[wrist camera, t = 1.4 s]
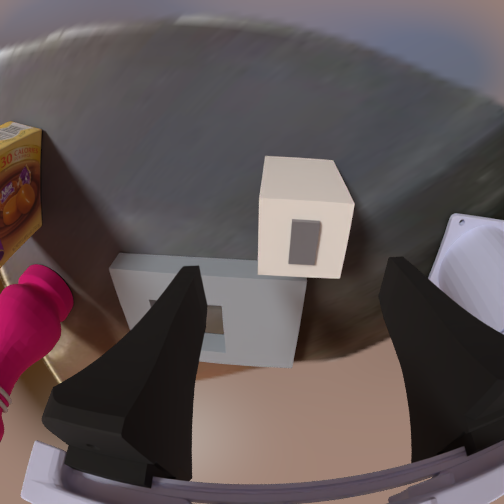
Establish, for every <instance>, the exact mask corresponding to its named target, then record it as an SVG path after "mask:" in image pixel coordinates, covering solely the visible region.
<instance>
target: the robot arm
mask: <svg viewBox="0 0 504 504" xmlns="http://www.w3.org/2000/svg"><path fill="white" fill-rule="evenodd" d="M460 220H462V222H461V223H459V222H460ZM379 300H380V305H381V309H382V313H383V317H384V320H385V323H386V326H387V329H388V331H389V334H390V337H391V340H392V342H393V345H394V348H395V350H396V354H397V356H398V359H399V362H400V365H401V369H402V372H403V377H404V382H405V387H406V393H407V399H408V406H409V414H410V425H411V443H412V444H411V446H412V459H411V464H407V465H404V466H400V467H395V468H391V469H387V470H382V471H377V472H373V473H367V474H363V475H357V476H351V477H344V478H337V479H330V480H322V481H312V482H301V483H286V484H250V485H249V484H218V483H217V484H216V483H203V482H192V481H190V480H191V479H192V417H193V400H194V399H193V398H194V387H195V380H196V374H197V369H198V364H199V359H200V354H201V349H202V344H203V339H204V334H205V328H206V317H207V301H206V296H205V291H204V287H203V282H202V277H201V272H200V267H199V265H198V266H183V267H182V268H181V269H180V271H179V272H178V273H177V275H176V276H175V277H174V279H173V280H172V281H171V283H170V284H169V285H168V287H167V288H166V289H165V291H164V292H163V293H162V294H161V296H160V297H159V298H158V300H157V301H156V302H155V303H154V305H153V306H152V307H151V308H150V309H149V310H148V312H147V313H146V314H145V315H144V316H143V317H142V319H141V320H140V321H139V322H138V323H137V324H136V325H135V326H134V327H133V328H132V329H131V330H130V331H129V332H128V333H127V334H126V335H125V336H124V337H123V338H122V339H121V340H120V341H119V342H118V343H117V344H115V345H114V346H113V347H112V348H111V349H109V350H108V351H107V352H106V353H105V354H103V355H102V356H101V357H100V358H98V359H97V360H96V361H94V362H93V363H92V364H90V365H89V366H87V367H86V368H84V369H83V370H82V371H80V372H78V373H77V374H75V375H74V376H72V377H70V378H69V379H67V380H65V381H63V382H62V383H60V384H58V385H57V386H55V387H53V389H52V391H51V394H50V397H49V399H48V402H47V405H46V407H45V410H44V413H43V416H42V422H43V424H44V426H45V427H46V428H47V429H48V430H49V431H51V432H52V433H53V434H54V435H56V436H57V437H58V438H60V439H61V440H62V441H64V442H66V444H68V445H69V446H68V450H67V452H66V451H64V450H62V449H59V448H57V447H54V446H51V445H48V444H46V443H43V442H40V441H38V440H37V441H35V443H34V446H33V449H32V453H31V456H30V460H29V463H28V467H27V471H26V475H25V479H24V483H23V487H22V491H21V497H22V498H23V499H25V500H27V501H28V502H31V503H32V504H192V503H191V502H197V503H207V504H301V503H312V502H321V501H329V500H336V499H343V498H349V497H355V496H360V495H365V494H370V493H375V492H379V491H384V490H388V489H392V488H396V487H400V486H403V485H407V484H411V483H414V482H418V481H421V480H424V479H427V478H430V477H432V478H431V479H429V480H427V481H424V482H421V483H419V484H416V485H413V486H410V487H408V489H406V490H404V491H403V492H401V493H398V494H396V495H393V496H391V497H389V499H388V501H389V503H388V504H489V503H491V502H493V501H495V500H496V499H498V498H499V497H501V496H503V495H504V220H498V219H492V218H485V217H479V216H472V215H465V214H457V213H455V214H453V215H452V216H451V217H450V219H449V221H448V225H447V228H446V231H445V234H444V237H443V240H442V242H441V245H440V248H439V251H438V254H437V256H436V259H435V262H434V264H433V267H432V269H431V272H430V274H429V277H428V278H427V277H426V276H425V275H424V274H422V273H421V272H420V271H419V270H418V269H417V268H416V267H415V266H413V265H412V264H411V263H410V262H409V261H407V260H406V259H405V258H404V257H389V259H388V263H387V267H386V271H385V274H384V278H383V282H382V286H381V289H380V293H379Z"/></svg>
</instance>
